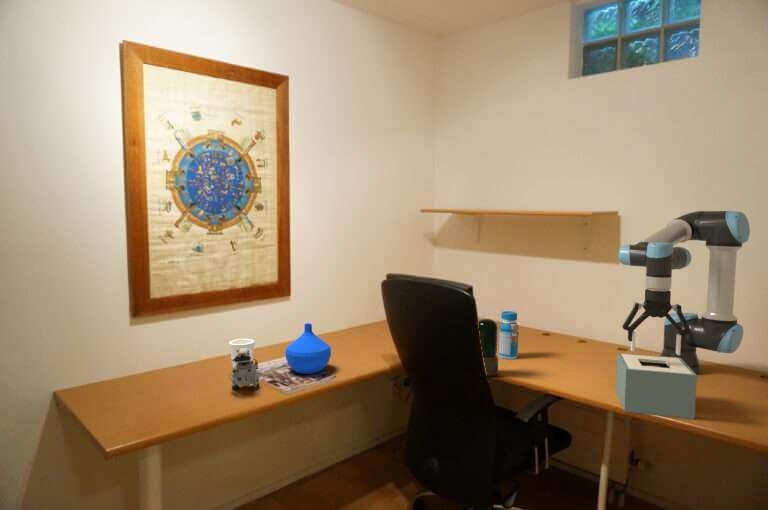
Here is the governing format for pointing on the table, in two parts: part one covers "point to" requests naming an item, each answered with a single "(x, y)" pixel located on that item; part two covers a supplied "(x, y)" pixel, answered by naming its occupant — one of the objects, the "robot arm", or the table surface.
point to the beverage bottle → (508, 335)
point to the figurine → (244, 370)
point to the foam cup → (239, 344)
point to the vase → (308, 353)
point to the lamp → (489, 345)
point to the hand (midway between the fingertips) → (654, 352)
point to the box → (656, 385)
